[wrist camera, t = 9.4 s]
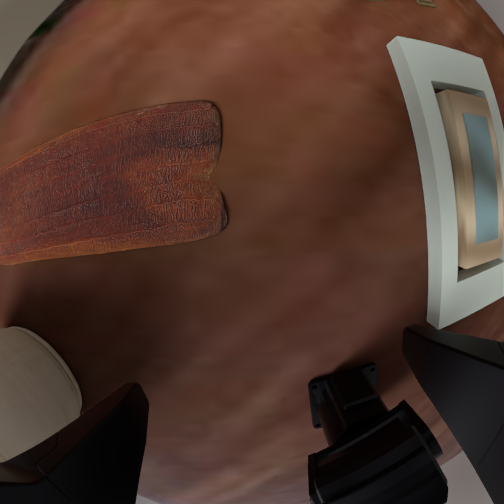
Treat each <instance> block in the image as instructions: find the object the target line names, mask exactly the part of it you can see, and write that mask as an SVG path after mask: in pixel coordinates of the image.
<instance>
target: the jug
mask: <svg viewBox="0 0 504 504" xmlns="http://www.w3.org/2000/svg"><path fill="white" fill-rule="evenodd" d="M81 407H82V396H81V392H80V388H79V385H78V383H77V381H76V379H75V377H74V375H73V374H72V372H71V371H70V369H69V367H68V366H67V364H66V363H65V361H64V360H63V359H62V357H61V356H60V355H59V354H58V353H57V352H56V351H55V350H54V349H53V348H52V347H51V345H50V344H48V343H47V342H46V341H45V340H44V339H42V338H41V337H40V336H38V335H37V334H35V333H34V332H32V331H30V330H28V329H25V328H22V327H16V326H13V327H8V328H2V329H0V463H1V462H5V461H7V460H9V459H11V458H13V457H15V456H17V455H19V454H21V453H23V452H25V451H26V450H28V449H30V448H32V447H34V446H35V445H37V444H39V443H41V442H42V441H44V440H45V439H47V438H49V437H50V436H52V435H53V434H55V433H56V432H59V430H61V429H62V428H64V427H65V426H67V425H68V424H70V423H71V422H72V421H74V420H75V419H77V418H78V417H79V416H80V411H81Z"/></svg>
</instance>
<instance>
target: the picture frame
mask: <svg viewBox="0 0 504 504" xmlns="http://www.w3.org/2000/svg"><path fill="white" fill-rule="evenodd" d="M435 95H436V99H437V102H438V106H439V109H440V113H441V117H442V121H443V125H444V130H445V134H446V139H447V144H448V149H449V155H450V160H451V167H452V174H453V181H454V189H455V199H456V211H457V228H458V266H460V267H462V268H464V269H468V268H471V267H474V266H477V265H480V264H483V263H486V262H489V261H492V260H495V259H497V258H500V257H502V248H503V197H502V182H501V172H500V163H499V156H498V149H497V143H496V137H495V132H494V127H493V122H492V117H491V113H490V109H489V105H488V101H487V99H485V98H481V97H478V96H474V95H470V94H466V93H462V92H458V91H454V90H449V89H446V90H444V91H441V92H439V93H436V94H435Z"/></svg>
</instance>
